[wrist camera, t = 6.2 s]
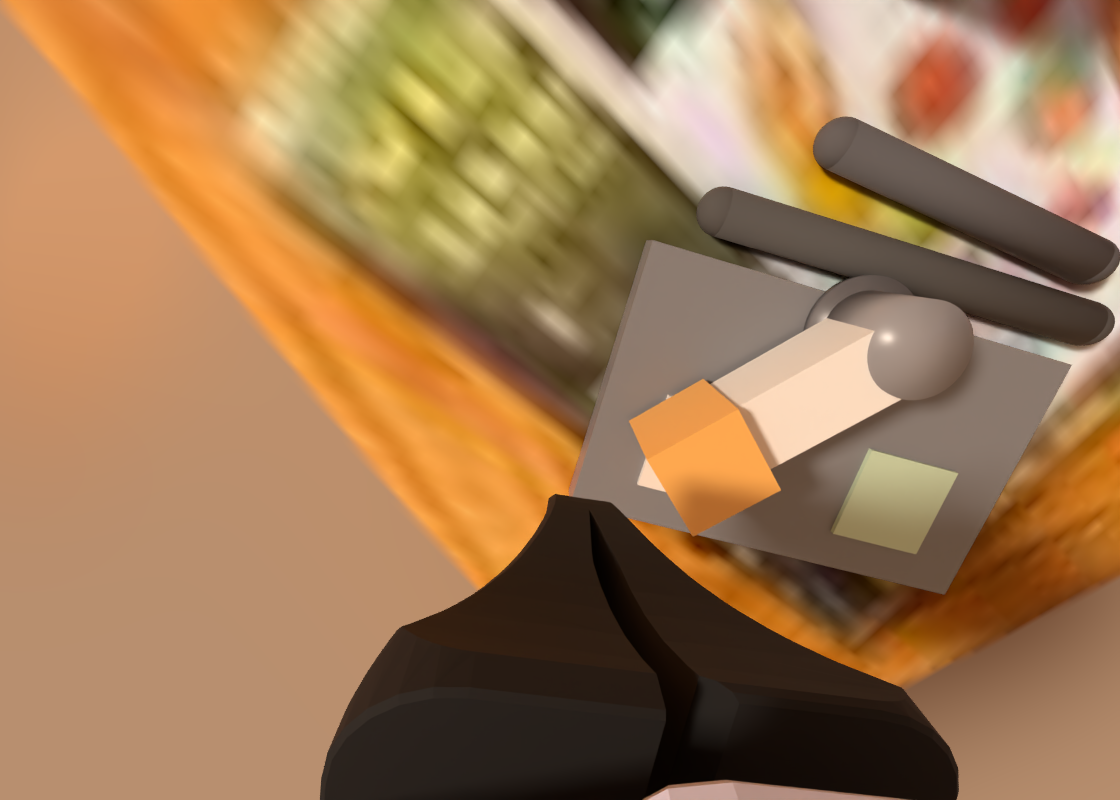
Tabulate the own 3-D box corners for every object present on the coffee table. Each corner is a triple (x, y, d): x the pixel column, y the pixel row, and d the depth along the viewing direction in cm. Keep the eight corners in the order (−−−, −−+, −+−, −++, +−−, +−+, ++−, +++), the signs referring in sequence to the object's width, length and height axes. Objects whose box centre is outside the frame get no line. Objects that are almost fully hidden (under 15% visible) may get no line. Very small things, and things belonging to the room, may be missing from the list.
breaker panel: (1056, 332, 20) (1094, 339, 19) (924, 577, 23) (949, 599, 22) (655, 211, 19) (664, 209, 17) (568, 489, 22) (570, 507, 20)
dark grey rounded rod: (1097, 247, 19) (1144, 247, 18) (1070, 289, 20) (1114, 293, 18) (818, 114, 18) (844, 102, 16) (796, 162, 18) (819, 155, 17)
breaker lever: (919, 348, 19) (1003, 372, 15) (667, 486, 20) (692, 536, 17) (889, 273, 18) (970, 280, 15) (628, 420, 19) (646, 459, 16)
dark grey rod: (1092, 305, 20) (1137, 310, 18) (1070, 346, 20) (1112, 354, 19) (700, 182, 18) (714, 177, 17) (685, 229, 19) (697, 228, 17)
